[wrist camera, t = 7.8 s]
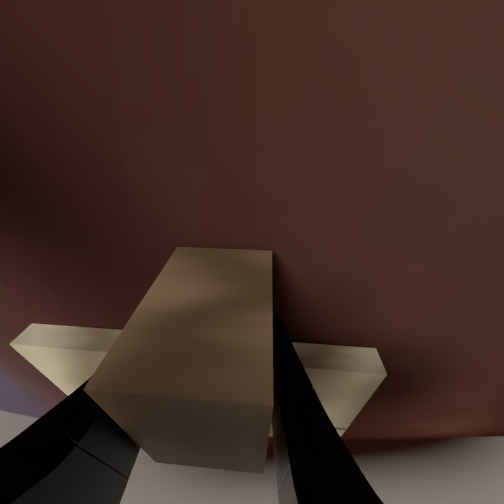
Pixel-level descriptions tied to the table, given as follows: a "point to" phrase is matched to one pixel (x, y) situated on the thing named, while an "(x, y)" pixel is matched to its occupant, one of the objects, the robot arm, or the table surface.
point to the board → (329, 392)
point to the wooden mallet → (197, 362)
